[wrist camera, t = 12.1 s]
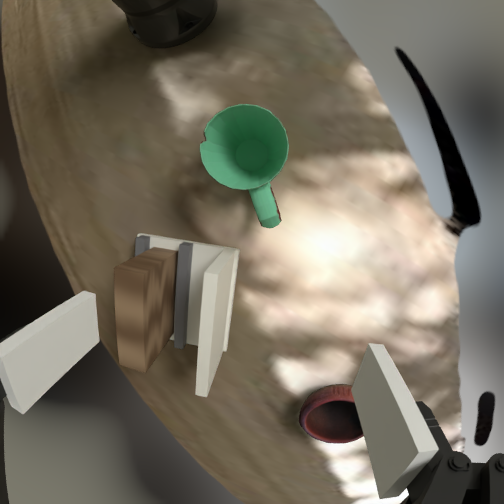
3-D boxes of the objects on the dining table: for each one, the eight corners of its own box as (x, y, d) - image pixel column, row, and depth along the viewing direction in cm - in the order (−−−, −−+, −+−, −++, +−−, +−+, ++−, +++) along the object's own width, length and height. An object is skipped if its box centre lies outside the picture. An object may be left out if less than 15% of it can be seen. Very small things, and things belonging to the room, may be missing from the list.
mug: (208, 136, 40) (188, 123, 30) (272, 113, 38) (270, 91, 29) (242, 230, 42) (231, 243, 33) (307, 208, 41) (316, 215, 31)
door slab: (154, 246, 43) (114, 267, 31) (178, 250, 43) (143, 273, 31) (152, 327, 46) (119, 365, 35) (173, 332, 46) (145, 373, 34)
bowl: (316, 430, 50) (318, 458, 42) (287, 391, 48) (288, 421, 40) (389, 397, 47) (401, 424, 39) (370, 353, 45) (383, 380, 37)
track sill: (140, 233, 44) (94, 251, 31) (239, 248, 43) (222, 275, 30) (139, 327, 48) (102, 367, 35) (227, 347, 47) (210, 398, 34)
